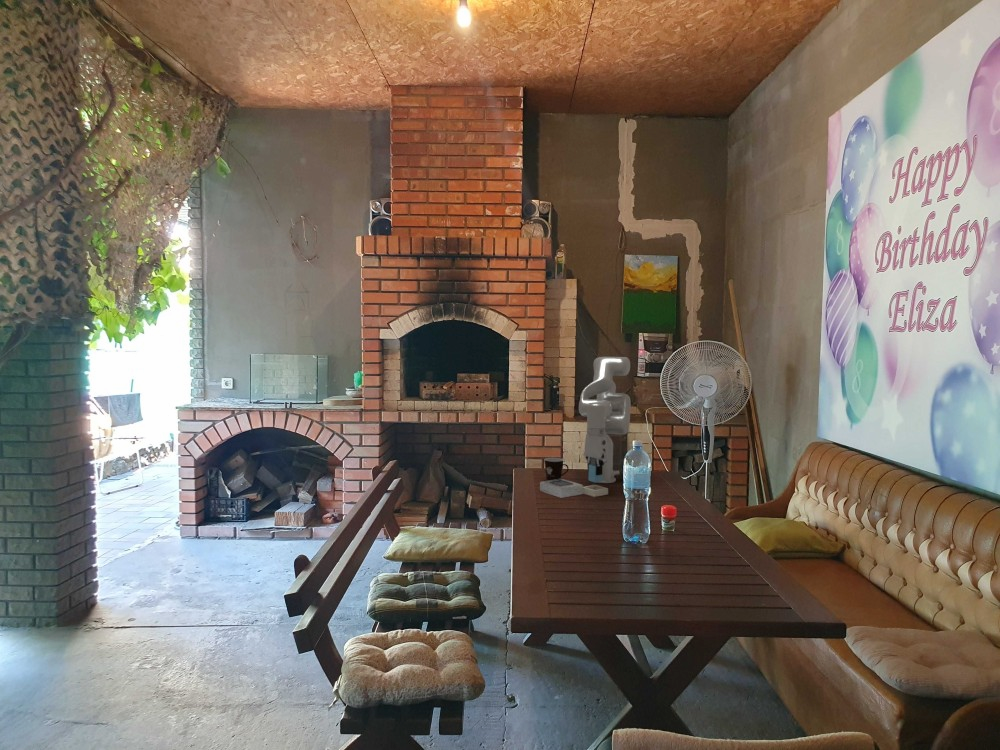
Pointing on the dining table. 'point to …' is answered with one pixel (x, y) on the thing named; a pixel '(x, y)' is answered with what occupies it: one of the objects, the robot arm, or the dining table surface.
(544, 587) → the dining table surface
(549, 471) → the coffee mug
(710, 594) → the dining table surface
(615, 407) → the robot arm
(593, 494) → the cream square frame
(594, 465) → the plug
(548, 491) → the port panel
